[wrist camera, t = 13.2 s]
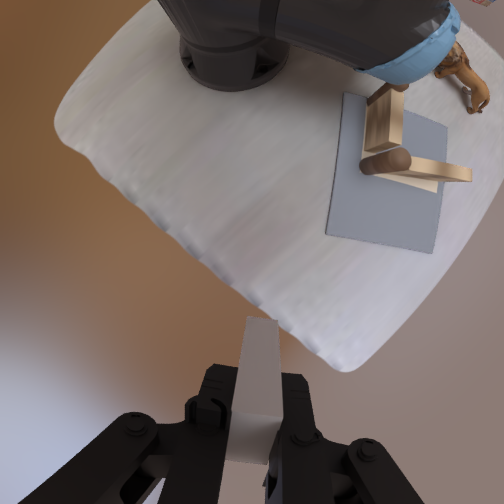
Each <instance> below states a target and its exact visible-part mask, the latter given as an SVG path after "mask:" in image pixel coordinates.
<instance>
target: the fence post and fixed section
mask: <svg viewBox="0 0 504 504" xmlns="http://www.w3.org/2000/svg"><path fill="white" fill-rule="evenodd" d="M408 87H409V84H402V85H394V84H390V83H387V82H386V83H385V84H384V85H383V86H382V87H380V88H379V89H378V90H377V91H376V92H375V93H374V94H372V95H371V96H370V97H369V98H368V99H367V102H366V103H367V106H368V107H367V121H366V133H365V143H364V151H366V152H370V153H374V154H375V153H378V152H381V151H384V150H387V149H390V148H394V147H397V146H400V145H402V131H403V107H404V92H403V91H405V90H406V89H407V88H408ZM411 163H412V159H411V155H410V153H409V152H408V151H407V150H406V149H405V148H402V147H398V148H395V149H391V150H388V151H385V152H382V153H379V154H375V155H372V156H369V157H366V158H363V159H362V160H361V161H360V163H359V168H360V170H361V172H362V173H363V174H365V175H375V174H382V173H390V172H398V171H405V170H408V169H409V168H410V166H411Z"/></svg>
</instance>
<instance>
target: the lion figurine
mask: <svg viewBox="0 0 504 504" xmlns="http://www.w3.org/2000/svg"><path fill="white" fill-rule="evenodd" d="M438 66H439V67H440V68H444V69H443V70H442V71H441V72H438V71H436V72H435V76H436V77H437V78H442V77H444V76H446V75H449V74H455V75H456V77H457V78H458V79H459V80H460V81H461V82H462V83H463V84H464V85H466V86H467V87H469V88H471V91H469V90H468V89H467V88H466V87H463V88H462V89H463V91H464V92H465V93H466V94H469V95H471V103H472V107H473V109H472V108H471V107H467V111H468V113H469V114H473V113H475V112H477V111H479V113H482V110H481V109H482V108H484V107H485V106H486V105H487V104H488V103H489V100H490V95H489V90H488V87H487V85H486V83H485V82H484V81H483V80H482V79H481V78H480V77H479V76H478V75H477V74H476V73H475V72H474V71H473V70H472V68H471V67H470V65H469V60H468V58H467V56H466V55H465V52H464V50H463V48H462V47H461V45H459V43H458V42H457V41H455V43H454V45H453V47H452V48H451V50H450V51H449V53H448V54H447V56H446V57H445V58H444V59H443V60H442V62H441V63H440V64H439V65H438ZM483 101H484V103H483V104H482V105H481V106H480V107H479V108H478V106H479V104H480V103H482V102H483Z"/></svg>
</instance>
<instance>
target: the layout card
mask: <svg viewBox="0 0 504 504" xmlns="http://www.w3.org/2000/svg"><path fill="white" fill-rule="evenodd" d="M367 99H368V98H366V97H363V96H359V95H356V94H352V93H348V92H344V93H343V105H342V116H341V126H340V135H339V144H338V153H337V161H336V168H335V176H334V183H333V189H332V196H331V203H330V209H329V215H328V221H327V227H326V232H325V234H326V235H332V236H338V237H344V238H350V239H356V240H361V241H367V242H372V243H378V244H383V245H389V246H394V247H399V248H405V249H410V250H415V251H420V252H425V253H430V254H432V253H433V248H434V243H435V239H436V234H437V228H438V223H439V217H440V210H441V204H442V196H443V188H444V182H438V181H432V180H426V179H419V178H412V177H405V176H398V175H389V174H375V175H365V174H363V173H362V172H361V170H360V168H359V163H360V161H361V160H362V159H363V158H366V157H369V156H372V155H375V154H379V153H382V152H385V151H388V150H391V149H395V148H398V147H402V148H405V149H406V150H407V151H408V152H409V153H410V155H411V156H413V157H419V158H424V159H429V160H434V161H439V162H444V163H446V155H447V127H446V126H444V125H442V124H440V123H437V122H435V121H433V120H430V119H428V118H425V117H423V116H420V115H418V114H415V113H412V112H410V111H407V110H404V109H403V131H402V145H400V146H397V147H394V148H390V149H387V150H384V151H381V152H378V153H375V154H374V153H370V152H366V151H364V143H365V133H366V121H367V107H368V106H367V103H366V102H367Z"/></svg>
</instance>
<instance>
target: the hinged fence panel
mask: <svg viewBox="0 0 504 504" xmlns="http://www.w3.org/2000/svg"><path fill="white" fill-rule="evenodd" d="M411 159H412V163H411V166H410V168H409V169H408V170H405V171H398V172H390V173H382V174H389V175H398V176H405V177H412V178H419V179H426V180H432V181H438V182H472V169H470V168H466V167H462V166H457V165H453V164H449V163H444V162H439V161H434V160H429V159H424V158H419V157H413V156H411Z"/></svg>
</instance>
